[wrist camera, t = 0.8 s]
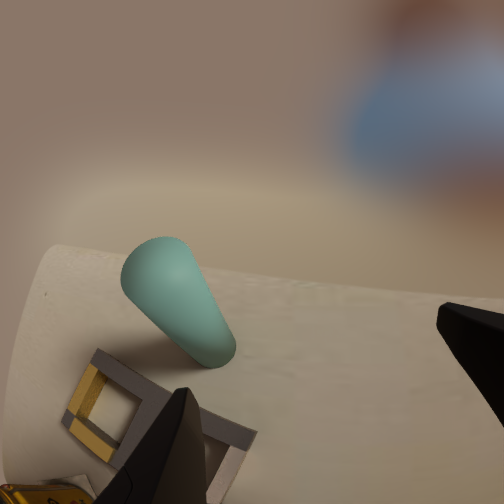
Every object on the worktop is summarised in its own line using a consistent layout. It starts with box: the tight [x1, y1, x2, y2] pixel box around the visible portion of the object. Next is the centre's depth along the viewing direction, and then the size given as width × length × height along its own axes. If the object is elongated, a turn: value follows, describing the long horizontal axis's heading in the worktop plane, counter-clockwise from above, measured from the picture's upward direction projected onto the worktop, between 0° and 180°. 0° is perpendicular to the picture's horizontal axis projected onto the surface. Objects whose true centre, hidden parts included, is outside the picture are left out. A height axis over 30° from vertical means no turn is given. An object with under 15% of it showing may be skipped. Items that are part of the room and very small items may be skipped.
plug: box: [121, 237, 236, 368], centre depth 19 cm, size 4×4×13 cm
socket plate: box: [61, 348, 257, 504], centre depth 18 cm, size 9×16×2 cm, turn 67°
